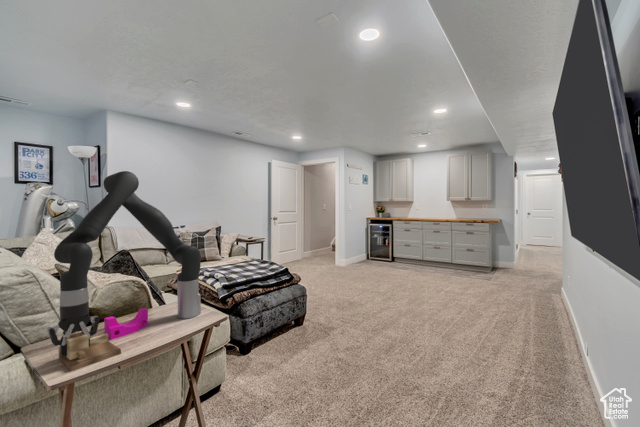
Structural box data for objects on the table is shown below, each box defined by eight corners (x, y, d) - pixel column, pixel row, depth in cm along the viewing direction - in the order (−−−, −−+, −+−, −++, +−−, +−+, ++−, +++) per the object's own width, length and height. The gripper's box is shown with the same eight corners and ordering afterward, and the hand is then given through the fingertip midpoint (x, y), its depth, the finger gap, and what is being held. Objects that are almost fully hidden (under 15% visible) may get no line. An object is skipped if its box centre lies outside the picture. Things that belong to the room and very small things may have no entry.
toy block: (111, 340, 116) (111, 321, 116) (104, 336, 119) (104, 318, 119) (150, 327, 128) (150, 310, 128) (143, 324, 132) (143, 307, 132)
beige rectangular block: (80, 347, 104) (80, 330, 104) (92, 356, 98) (91, 338, 98) (62, 353, 100) (62, 335, 100) (73, 362, 94) (72, 343, 94)
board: (106, 343, 112) (106, 333, 112) (121, 353, 105) (120, 342, 104) (58, 359, 101) (58, 347, 101) (70, 371, 93) (70, 358, 93)
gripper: (95, 294, 107) (96, 341, 108) (42, 305, 96) (44, 357, 96) (103, 298, 103) (104, 346, 103) (49, 310, 91) (50, 364, 92)
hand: (75, 351), depth 100 cm, fingers closed on beige rectangular block, 5 cm apart
